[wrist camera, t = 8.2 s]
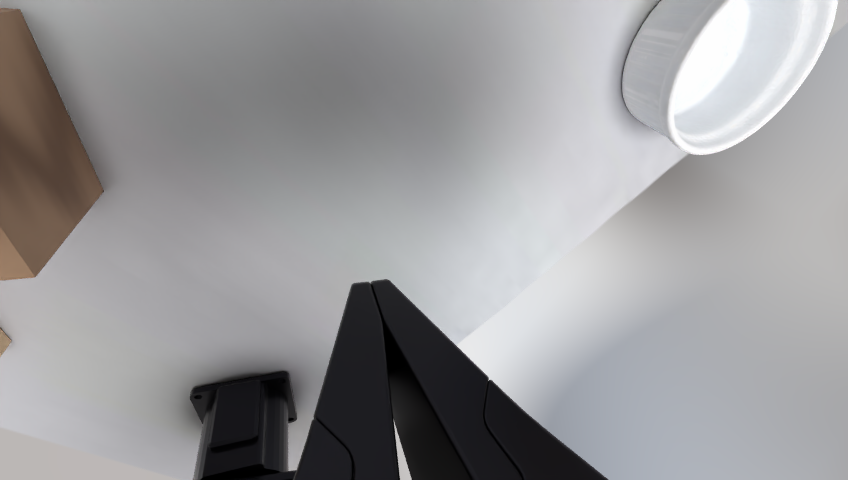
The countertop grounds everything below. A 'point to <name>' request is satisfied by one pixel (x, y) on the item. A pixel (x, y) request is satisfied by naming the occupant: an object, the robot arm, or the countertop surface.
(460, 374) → the robot arm
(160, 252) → the countertop surface
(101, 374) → the countertop surface
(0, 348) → the oak plank
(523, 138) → the countertop surface
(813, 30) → the ramekin
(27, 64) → the walnut block
